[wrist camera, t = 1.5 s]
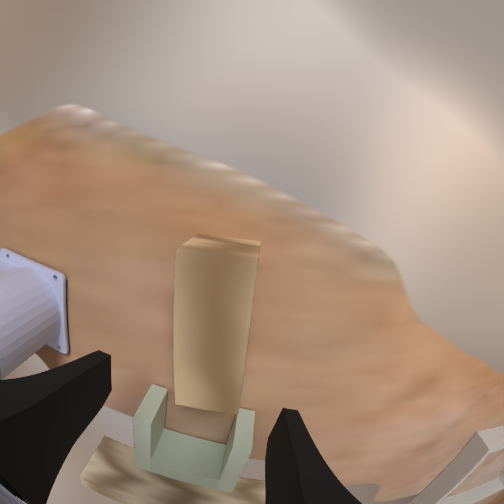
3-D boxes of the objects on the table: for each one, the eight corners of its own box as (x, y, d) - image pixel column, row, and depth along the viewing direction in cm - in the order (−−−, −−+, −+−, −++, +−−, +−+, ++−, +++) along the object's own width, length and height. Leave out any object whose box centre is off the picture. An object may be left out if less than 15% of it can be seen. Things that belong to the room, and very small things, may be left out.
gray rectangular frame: (397, 511, 26) (402, 528, 22) (476, 431, 22) (489, 449, 18) (497, 478, 26) (503, 488, 22) (554, 407, 22) (563, 417, 18)
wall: (110, 464, 25) (90, 501, 18) (104, 435, 23) (79, 477, 17) (262, 504, 25) (260, 546, 18) (278, 482, 23) (279, 531, 17)
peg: (192, 362, 20) (175, 403, 16) (199, 233, 18) (176, 248, 14) (244, 370, 20) (238, 414, 16) (260, 241, 18) (258, 258, 13)
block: (150, 434, 22) (135, 466, 18) (152, 383, 21) (132, 418, 16) (236, 458, 22) (231, 492, 18) (254, 411, 21) (252, 450, 16)
